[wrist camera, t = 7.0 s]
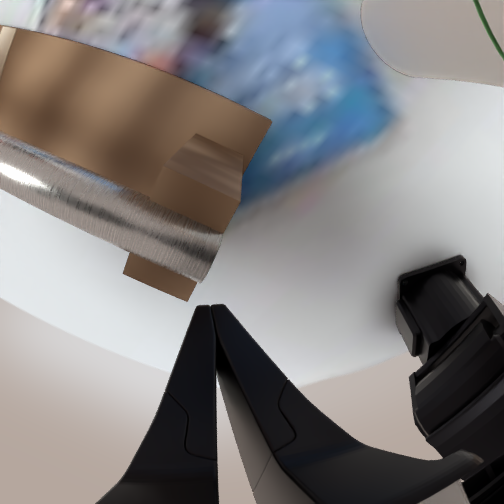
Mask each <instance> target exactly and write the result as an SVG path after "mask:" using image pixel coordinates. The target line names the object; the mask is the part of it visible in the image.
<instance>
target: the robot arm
mask: <svg viewBox="0 0 504 504" xmlns="http://www.w3.org/2000/svg"><path fill="white" fill-rule="evenodd" d="M460 262H461V263H460ZM465 272H466V259H465V258H464V257H463V256H458V257H456V258H453V259H450V260H447V261H444V262H441V263H438V264H435V265H432V266H429V267H426V268H423V269H420V270H417V271H414V272H411V273H408V274H405V275H402V276H400V277H399V279H398V300H397V302H396V325H397V327H398V330H399V332H400V334H401V335H402V337H403V339H404V341H405V343H406V345H407V347H408V350H409V352H410V354H411V355H412V356H413V357H416V356H419V358H420V360H421V362H422V364H423V366H422V367H420V369H418V370H417V371H416V372H414V373H413V374H411V375H410V377H409V381H410V389H411V398H412V407H413V416H414V421H415V425H416V426H417V427H418V429H419V431H420V432H421V433H422V435H423V436H424V437H425V438H426V441H427V442H428V443H429V444H430V445H431V446H433V447H434V448H435V449H436V450H437V451H438V452H439V454H440V455H441V456H442V457H443V459H440V460H429V461H428V460H422V459H417V458H412V457H408V456H404V455H399V454H396V453H392V452H388V451H384V450H380V449H377V448H373V447H370V446H368V445H365V444H363V443H361V442H359V441H358V440H356V439H354V438H353V437H351V436H350V435H349V434H348V433H347V432H345V431H344V430H343V429H342V428H340V427H339V426H338V425H337V424H336V423H334V422H333V421H332V420H331V419H329V418H328V417H327V416H326V415H325V414H323V413H322V412H321V411H320V410H319V409H318V408H317V407H315V406H314V405H313V404H312V403H311V402H310V401H309V400H307V398H306V397H305V396H304V395H303V394H302V393H301V392H300V391H299V390H298V389H297V388H296V387H295V386H294V385H293V383H292V382H291V381H290V380H287V379H288V378H287V377H286V376H285V375H284V373H283V372H282V371H281V370H280V369H279V368H278V367H277V365H276V364H275V363H274V362H273V361H272V360H271V359H270V357H269V356H268V355H267V354H266V353H265V352H264V351H263V349H262V348H261V347H260V346H259V345H258V344H257V342H256V341H255V340H254V339H253V338H252V336H251V335H250V334H249V333H248V332H247V331H246V329H245V328H244V327H243V326H242V325H241V323H240V322H239V321H238V320H237V319H236V317H235V316H234V315H233V314H232V313H231V311H230V310H229V309H228V308H227V307H226V305H224V304H214V305H211V307H210V305H198V306H197V307H196V308H195V311H194V314H193V316H192V319H191V321H190V324H189V327H188V329H187V332H186V335H185V337H184V340H183V343H182V345H181V348H180V351H179V353H178V356H177V359H176V361H175V364H174V367H173V370H172V372H171V375H170V378H169V381H168V383H167V386H166V389H165V392H164V394H163V397H162V400H161V402H160V405H159V407H158V410H157V412H156V415H155V417H154V419H153V421H152V423H151V426H150V428H149V430H148V432H147V434H146V435H145V438H144V439H143V441H142V443H141V445H140V447H139V449H138V451H137V452H136V454H135V456H134V458H133V460H132V462H131V464H130V465H129V467H128V469H127V471H126V472H125V474H124V475H123V476H122V478H121V479H120V480H119V481H118V483H117V484H116V485H115V486H114V487H112V488H111V489H110V491H108V492H107V493H106V494H105V495H104V496H103V497H102V498H101V499H100V500H99V501H98V502H96V503H95V504H219V492H218V467H217V466H218V464H217V411H216V374H217V378H218V382H219V385H220V389H221V392H222V396H223V400H224V403H225V406H226V410H227V413H228V417H229V420H230V423H231V427H232V430H233V433H234V436H235V440H236V443H237V446H238V449H239V453H240V456H241V459H242V462H243V465H244V468H245V471H246V474H247V477H248V480H249V483H250V486H251V488H252V491H253V495H254V498H255V500H256V503H257V504H504V306H503V305H502V304H501V303H500V302H499V301H497V300H496V299H495V298H494V297H492V296H491V295H490V294H489V293H487V294H486V296H485V297H483V296H482V295H481V294H480V293H479V291H478V290H477V289H476V288H475V287H474V285H473V284H472V283H471V282H470V281H469V279H468V278H467V277H466V276H465ZM405 280H406V281H405ZM403 281H405V282H403ZM460 479H462V480H464V482H461V480H460Z"/></svg>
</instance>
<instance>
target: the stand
mask: <svg viewBox="0 0 504 504" xmlns="http://www.w3.org/2000/svg"><path fill="white" fill-rule="evenodd" d="M271 124H272V121H271V120H270V119H268V118H266V117H264V116H262V115H260V114H258V113H256V112H254V111H252V110H250V109H248V108H246V107H244V106H242V105H240V104H238V103H236V102H234V101H232V100H230V99H228V98H225V97H223V96H221V95H219V94H217V93H214V92H212V91H210V90H208V89H206V88H203V87H201V86H199V85H196V84H194V83H192V82H189V81H187V80H185V79H182V78H180V77H177V76H175V75H172V74H170V73H167V72H165V71H162V70H160V69H157V68H154V67H152V66H149V65H146V64H144V63H141V62H138V61H135V60H132V59H130V58H127V57H124V56H121V55H118V54H115V53H112V52H109V51H105V50H102V49H99V48H96V47H93V46H89V45H86V44H82V43H79V42H75V41H71V40H68V39H64V38H60V37H56V36H52V35H48V34H44V33H39V32H35V31H30V30H25V29H20V28H15V27H9V26H4V25H0V131H2V132H5V133H7V134H9V135H12V136H14V137H16V138H18V139H21V140H23V141H25V142H28V143H30V144H32V145H34V146H37V147H39V148H41V149H43V150H46V151H48V152H50V153H52V154H55V155H57V156H59V157H61V158H64V159H66V160H68V161H70V162H73V163H75V164H77V165H79V166H82V167H84V168H86V169H88V170H91V171H93V172H95V173H97V174H99V175H102V176H104V177H106V178H108V179H111V180H113V181H115V182H117V183H120V184H122V185H124V186H126V187H128V188H131V189H133V190H135V191H137V192H139V193H142V194H144V195H146V196H148V197H150V198H149V200H150V201H153V202H155V203H157V204H159V205H161V206H164V207H166V208H168V209H170V210H172V211H175V212H177V213H179V214H181V215H183V216H186V217H188V218H190V219H192V220H194V221H197V222H199V223H201V224H203V225H205V226H208V227H210V228H212V229H214V230H216V231H219V232H221V233H224V231H225V229H226V227H227V226H228V224H229V222H230V220H231V218H232V216H233V215H234V213H235V211H236V209H237V207H238V205H239V204H240V202H241V186H242V176H243V174H244V172H245V170H246V168H247V167H248V165H249V163H250V161H251V159H252V158H253V156H254V154H255V152H256V150H257V149H258V147H259V145H260V143H261V141H262V140H263V138H264V136H265V134H266V132H267V131H268V129H269V127H270V125H271ZM123 274H124V275H127V276H129V277H131V278H133V279H135V280H138V281H140V282H142V283H144V284H147V285H149V286H151V287H154V288H156V289H158V290H160V291H163V292H165V293H167V294H170V295H172V296H175V297H177V298H179V299H182V300H184V301H186V302H188V300H189V298H190V296H191V294H192V292H193V290H194V288H195V286H196V284H197V282H196V281H194V280H191V279H189V278H186V277H184V276H182V275H180V274H177V273H175V272H173V271H170V270H168V269H166V268H164V267H161V266H159V265H157V264H154V263H152V262H150V261H148V260H146V259H143V258H141V257H139V256H137V255H134V254H132V253H129V256H128V259H127V262H126V265H125V268H124V271H123Z"/></svg>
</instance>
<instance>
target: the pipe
mask: <svg viewBox="0 0 504 504" xmlns="http://www.w3.org/2000/svg"><path fill="white" fill-rule="evenodd" d="M0 189H2V190H4V191H6V192H8V193H10V194H12V195H13V196H15V197H17V198H19V199H21V200H23V201H25V202H27V203H29V204H31V205H33V206H35V207H37V208H39V209H41V210H43V211H45V212H47V213H48V214H50V215H52V216H54V217H57V218H59V219H61V220H63V221H65V222H67V223H69V224H71V225H73V226H75V227H77V228H79V229H81V230H83V231H85V232H87V233H89V234H91V235H94V236H96V237H98V238H100V239H102V240H104V241H106V242H108V243H111V244H113V245H115V246H117V247H119V248H121V249H124V250H126V251H128V252H130V253H132V254H134V255H137V256H139V257H141V258H143V259H146V260H148V261H150V262H152V263H154V264H157V265H159V266H161V267H164V268H166V269H168V270H170V271H173V272H175V273H177V274H180V275H182V276H184V277H186V278H189V279H191V280H194V281H196V282H198V283H201V282H202V281H203V280H204V278H205V277H206V275H207V273H208V271H209V269H210V267H211V265H212V263H213V261H214V259H215V256H216V254H217V251H218V249H219V246H220V243H221V240H222V237H223V233H221V232H219V231H216V230H214V229H212V228H210V227H208V226H205V225H203V224H201V223H199V222H197V221H194V220H192V219H190V218H188V217H186V216H183V215H181V214H179V213H177V212H175V211H172V210H170V209H168V208H166V207H164V206H161V205H159V204H157V203H155V202H153V201H150V200H149V198H150V197H148V196H146V195H144V194H142V193H139V192H137V191H135V190H133V189H131V188H128V187H126V186H124V185H122V184H120V183H117V182H115V181H113V180H111V179H108V178H106V177H104V176H102V175H99V174H97V173H95V172H93V171H91V170H88V169H86V168H84V167H82V166H79V165H77V164H75V163H73V162H70V161H68V160H66V159H64V158H61V157H59V156H57V155H55V154H52V153H50V152H48V151H46V150H43V149H41V148H39V147H37V146H34V145H32V144H30V143H28V142H25V141H23V140H21V139H18V138H16V137H14V136H12V135H9V134H7V133H5V132H2V131H0Z"/></svg>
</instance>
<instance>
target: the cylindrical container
mask: <svg viewBox="0 0 504 504" xmlns="http://www.w3.org/2000/svg"><path fill="white" fill-rule="evenodd" d="M361 21H362V27H363V30H364V33H365V36H366V38H367V40H368V42H369V43H370V45H371V47H372V49H373V50H374V51H375V52H376V54H377V55H378V56H379V57H380V58H381V59H382V60H383V61H384V62H385V63H386V64H387V65H389V66H390V67H392V68H393V69H394V70H396V71H398V72H400V73H402V74H404V75H408V76H411V77H418V78H432V79H445V80H455V81H464V82H472V83H480V84H487V85H493V86H499V87H504V0H363V2H362V6H361Z"/></svg>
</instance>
